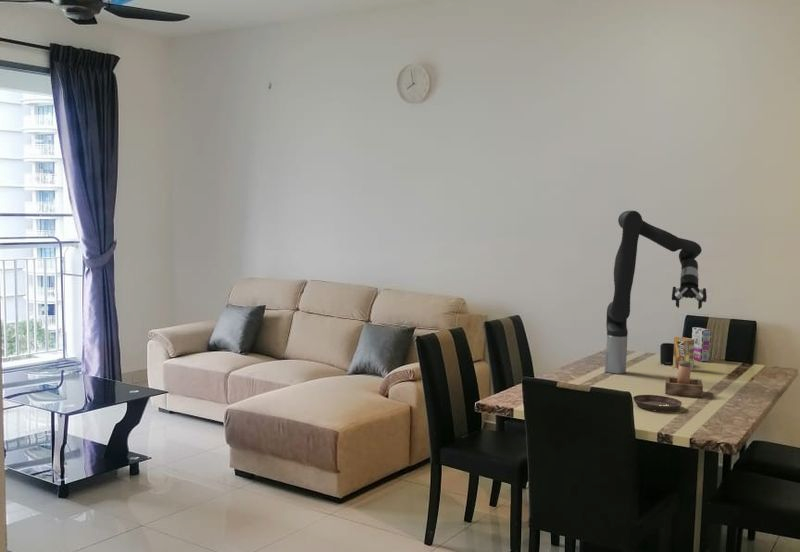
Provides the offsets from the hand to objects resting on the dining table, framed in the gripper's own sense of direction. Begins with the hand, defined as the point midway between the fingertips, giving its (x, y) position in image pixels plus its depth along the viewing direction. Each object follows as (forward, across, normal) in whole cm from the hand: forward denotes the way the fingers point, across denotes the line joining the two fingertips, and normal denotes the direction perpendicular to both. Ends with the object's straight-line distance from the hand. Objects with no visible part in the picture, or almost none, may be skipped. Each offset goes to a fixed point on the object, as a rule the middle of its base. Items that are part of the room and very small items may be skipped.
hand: (688, 307), depth 328 cm
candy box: (-1, 0, +49) cm, 49 cm away
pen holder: (-9, -6, +57) cm, 58 cm away
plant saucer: (+60, -11, -12) cm, 62 cm away
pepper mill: (+37, -1, +9) cm, 38 cm away
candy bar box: (-24, +9, +72) cm, 76 cm away
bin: (+38, -1, +10) cm, 39 cm away
